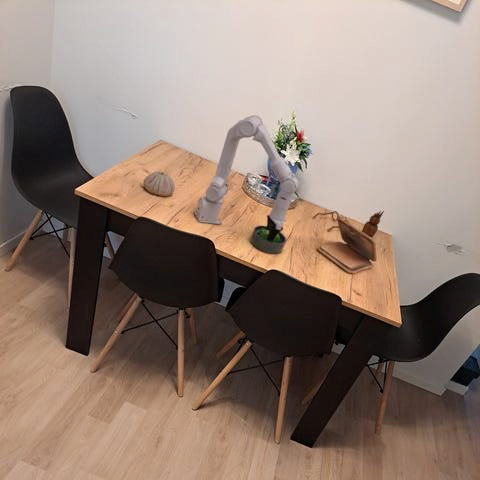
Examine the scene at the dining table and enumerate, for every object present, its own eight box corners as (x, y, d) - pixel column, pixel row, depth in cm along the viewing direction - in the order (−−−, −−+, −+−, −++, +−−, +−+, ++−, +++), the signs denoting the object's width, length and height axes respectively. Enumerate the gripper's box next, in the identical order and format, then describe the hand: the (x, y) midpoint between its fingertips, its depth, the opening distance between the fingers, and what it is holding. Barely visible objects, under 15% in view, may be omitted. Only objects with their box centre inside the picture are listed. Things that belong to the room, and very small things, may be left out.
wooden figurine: (372, 237, 235) (387, 210, 227) (371, 241, 230) (386, 214, 222) (360, 231, 236) (374, 205, 227) (359, 235, 231) (373, 208, 222)
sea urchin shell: (174, 201, 196) (178, 183, 191) (141, 193, 192) (145, 175, 187) (173, 188, 206) (177, 171, 201) (142, 180, 202) (146, 163, 197)
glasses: (346, 231, 230) (351, 223, 227) (328, 231, 223) (332, 222, 220) (331, 218, 238) (335, 209, 235) (312, 217, 231) (316, 208, 228)
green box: (259, 240, 186) (261, 233, 184) (257, 234, 190) (260, 227, 188) (278, 244, 189) (281, 238, 187) (276, 239, 192) (279, 232, 190)
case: (374, 267, 207) (392, 236, 198) (350, 275, 193) (368, 242, 184) (340, 243, 216) (355, 212, 207) (314, 249, 202) (329, 216, 193)
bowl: (257, 253, 183) (261, 242, 180) (245, 234, 192) (248, 224, 189) (287, 255, 189) (291, 245, 186) (273, 237, 198) (277, 227, 196)
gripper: (294, 217, 176) (281, 248, 184) (287, 201, 187) (275, 230, 195) (276, 213, 174) (264, 244, 182) (271, 196, 185) (259, 226, 193)
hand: (269, 236), depth 188 cm, fingers closed on green box, 4 cm apart
